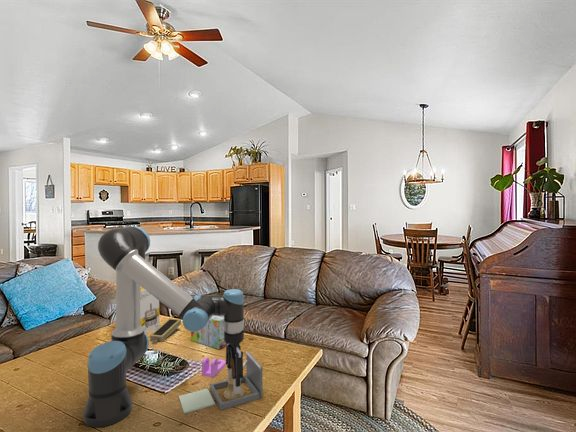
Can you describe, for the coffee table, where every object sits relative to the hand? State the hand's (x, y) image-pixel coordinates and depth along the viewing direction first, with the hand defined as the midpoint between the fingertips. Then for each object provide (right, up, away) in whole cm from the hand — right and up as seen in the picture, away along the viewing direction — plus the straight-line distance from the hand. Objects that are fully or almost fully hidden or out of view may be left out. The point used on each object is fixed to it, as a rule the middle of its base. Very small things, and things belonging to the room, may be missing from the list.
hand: (234, 388), depth 128 cm
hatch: (0, -2, 0) cm, 2 cm away
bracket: (-12, -2, +19) cm, 23 cm away
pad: (-13, -2, -5) cm, 14 cm away
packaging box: (-66, 0, +65) cm, 93 cm away
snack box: (-21, 0, +46) cm, 51 cm away
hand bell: (0, -2, 0) cm, 2 cm away
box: (-48, 0, +56) cm, 73 cm away
